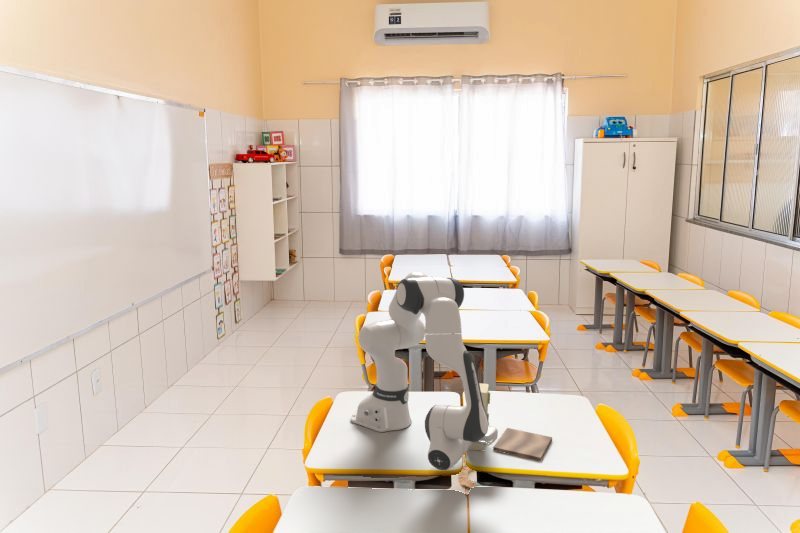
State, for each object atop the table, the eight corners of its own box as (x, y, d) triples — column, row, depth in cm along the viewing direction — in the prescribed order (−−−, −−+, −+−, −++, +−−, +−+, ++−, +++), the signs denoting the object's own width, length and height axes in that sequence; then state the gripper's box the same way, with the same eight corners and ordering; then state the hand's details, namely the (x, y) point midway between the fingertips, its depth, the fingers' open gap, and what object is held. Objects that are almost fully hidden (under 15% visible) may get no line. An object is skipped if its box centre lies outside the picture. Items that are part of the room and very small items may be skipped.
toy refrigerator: (487, 452, 211) (489, 392, 206) (465, 449, 212) (466, 390, 208) (488, 441, 218) (490, 383, 214) (467, 438, 220) (469, 382, 215)
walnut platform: (493, 450, 212) (493, 447, 211) (507, 430, 226) (507, 427, 226) (540, 461, 205) (540, 457, 205) (551, 440, 219) (552, 437, 219)
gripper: (490, 435, 192) (504, 418, 204) (428, 422, 201) (445, 405, 213) (489, 454, 193) (503, 436, 205) (428, 440, 202) (444, 423, 214)
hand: (473, 420), depth 209 cm, fingers open, 8 cm apart
